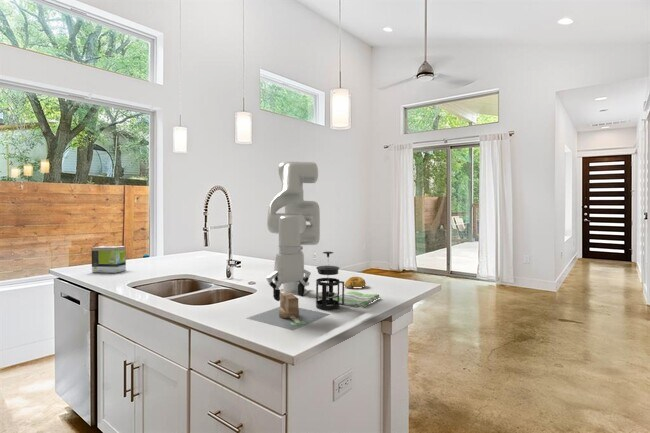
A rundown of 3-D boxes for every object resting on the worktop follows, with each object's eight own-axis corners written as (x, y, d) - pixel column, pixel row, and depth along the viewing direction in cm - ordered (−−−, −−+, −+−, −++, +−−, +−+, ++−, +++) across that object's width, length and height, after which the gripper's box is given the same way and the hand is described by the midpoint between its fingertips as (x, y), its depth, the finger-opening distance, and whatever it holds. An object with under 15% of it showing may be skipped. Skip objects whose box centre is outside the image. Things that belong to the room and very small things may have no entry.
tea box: (126, 270, 226) (126, 245, 225) (115, 273, 216) (115, 247, 215) (103, 269, 227) (102, 245, 227) (91, 272, 217) (90, 247, 217)
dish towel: (319, 306, 154) (319, 297, 154) (346, 294, 174) (347, 287, 173) (357, 313, 145) (357, 304, 145) (381, 300, 164) (381, 292, 164)
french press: (310, 312, 143) (310, 252, 142) (318, 306, 152) (318, 249, 151) (340, 315, 140) (340, 254, 139) (346, 309, 149) (347, 251, 148)
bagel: (340, 286, 189) (340, 276, 189) (359, 284, 194) (359, 275, 194) (349, 290, 180) (349, 280, 180) (369, 288, 185) (369, 278, 185)
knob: (275, 312, 137) (275, 293, 137) (293, 310, 140) (293, 291, 139) (288, 325, 123) (288, 303, 123) (308, 322, 126) (308, 301, 126)
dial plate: (285, 308, 148) (285, 304, 148) (329, 318, 137) (329, 313, 137) (246, 322, 131) (246, 317, 131) (293, 334, 119) (293, 329, 119)
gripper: (304, 247, 141) (304, 292, 142) (262, 250, 131) (262, 299, 132) (315, 249, 135) (315, 296, 136) (272, 254, 125) (272, 304, 126)
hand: (289, 297), depth 134 cm, fingers open, 9 cm apart
